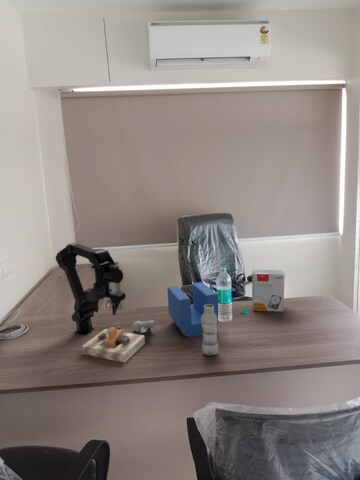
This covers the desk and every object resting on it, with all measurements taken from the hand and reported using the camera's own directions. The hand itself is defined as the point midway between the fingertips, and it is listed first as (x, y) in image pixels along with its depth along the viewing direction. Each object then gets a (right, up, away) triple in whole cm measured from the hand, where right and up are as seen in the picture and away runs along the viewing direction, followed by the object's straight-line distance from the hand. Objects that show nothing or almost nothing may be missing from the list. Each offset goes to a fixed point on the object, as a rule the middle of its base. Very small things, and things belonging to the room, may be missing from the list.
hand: (105, 313), depth 145 cm
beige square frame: (+5, -13, -5) cm, 15 cm away
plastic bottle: (+44, -13, -12) cm, 48 cm away
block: (+38, -9, +12) cm, 41 cm away
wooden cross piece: (+5, -12, -4) cm, 14 cm away
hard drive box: (+78, -4, +29) cm, 83 cm away
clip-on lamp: (+12, -11, +7) cm, 18 cm away
